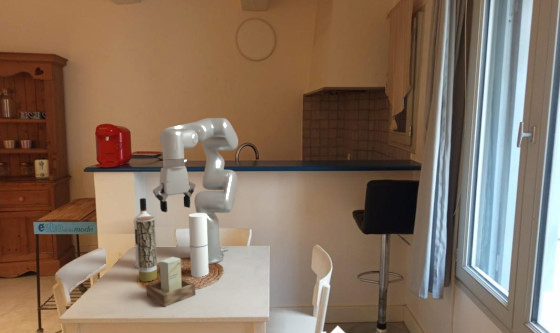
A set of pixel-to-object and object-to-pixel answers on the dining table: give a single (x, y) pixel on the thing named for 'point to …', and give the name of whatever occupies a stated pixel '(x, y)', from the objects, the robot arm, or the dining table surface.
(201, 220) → the cylindrical container
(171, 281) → the skincare box
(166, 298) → the brown wooden square tray
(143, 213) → the vodka
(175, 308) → the dining table surface
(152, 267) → the paper tube
